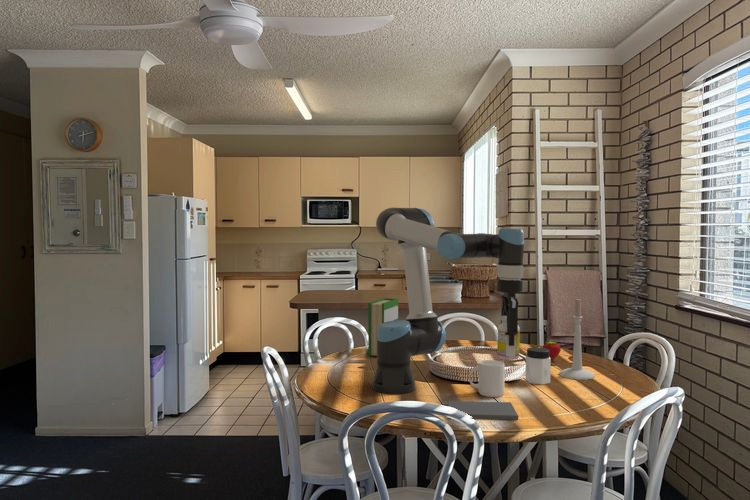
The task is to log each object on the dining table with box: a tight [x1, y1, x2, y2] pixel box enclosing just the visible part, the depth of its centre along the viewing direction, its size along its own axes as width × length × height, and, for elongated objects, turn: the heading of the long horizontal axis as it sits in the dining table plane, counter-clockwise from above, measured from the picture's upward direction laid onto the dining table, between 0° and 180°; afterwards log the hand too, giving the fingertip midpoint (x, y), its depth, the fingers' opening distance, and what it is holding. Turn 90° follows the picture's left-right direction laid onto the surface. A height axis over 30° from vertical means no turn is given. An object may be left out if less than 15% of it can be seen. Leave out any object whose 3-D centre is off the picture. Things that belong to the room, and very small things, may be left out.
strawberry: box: [542, 340, 562, 362], centre depth 244 cm, size 6×8×10 cm
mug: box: [468, 359, 506, 398], centre depth 195 cm, size 9×12×11 cm
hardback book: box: [367, 297, 399, 358], centre depth 257 cm, size 18×7×24 cm, turn 158°
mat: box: [447, 400, 519, 421], centre depth 176 cm, size 20×13×1 cm, turn 86°
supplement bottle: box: [496, 315, 521, 361], centre depth 175 cm, size 7×7×13 cm
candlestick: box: [559, 298, 596, 381], centre depth 219 cm, size 13×13×30 cm
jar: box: [525, 346, 552, 385], centre depth 211 cm, size 9×8×12 cm
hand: (508, 352), depth 175 cm, fingers closed on supplement bottle, 7 cm apart
